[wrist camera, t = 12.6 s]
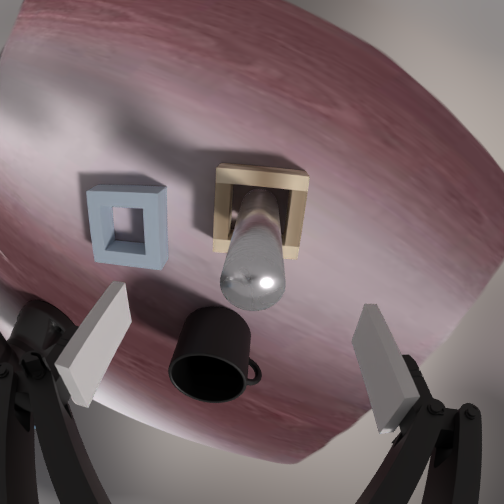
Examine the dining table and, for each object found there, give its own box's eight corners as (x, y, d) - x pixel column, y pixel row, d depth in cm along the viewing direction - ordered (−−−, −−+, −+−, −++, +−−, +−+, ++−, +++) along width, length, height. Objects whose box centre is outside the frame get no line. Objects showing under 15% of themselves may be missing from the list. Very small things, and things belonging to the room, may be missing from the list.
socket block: (105, 251, 36) (94, 261, 34) (98, 184, 32) (86, 190, 30) (168, 258, 36) (161, 270, 33) (166, 186, 32) (157, 193, 30)
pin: (240, 221, 34) (219, 307, 19) (242, 187, 32) (221, 252, 18) (276, 225, 34) (280, 313, 19) (280, 190, 32) (289, 258, 18)
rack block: (217, 240, 35) (212, 251, 32) (220, 162, 31) (216, 167, 28) (294, 247, 35) (297, 259, 32) (305, 171, 31) (309, 176, 28)
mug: (246, 370, 44) (241, 417, 36) (174, 337, 42) (158, 383, 34) (279, 332, 40) (281, 382, 32) (200, 293, 38) (184, 340, 30)
